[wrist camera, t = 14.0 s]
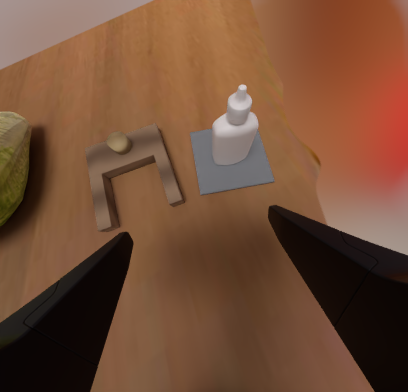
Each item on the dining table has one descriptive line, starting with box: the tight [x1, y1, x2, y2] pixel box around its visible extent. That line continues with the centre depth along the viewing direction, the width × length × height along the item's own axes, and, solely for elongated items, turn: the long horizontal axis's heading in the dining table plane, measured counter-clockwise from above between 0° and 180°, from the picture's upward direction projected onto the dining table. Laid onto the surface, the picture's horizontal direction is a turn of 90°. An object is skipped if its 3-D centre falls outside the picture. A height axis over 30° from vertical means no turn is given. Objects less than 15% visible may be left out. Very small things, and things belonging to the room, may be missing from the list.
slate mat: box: [190, 129, 274, 195], centre depth 25 cm, size 12×12×1 cm
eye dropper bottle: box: [212, 85, 258, 165], centre depth 19 cm, size 4×6×12 cm
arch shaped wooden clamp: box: [85, 123, 185, 232], centre depth 24 cm, size 15×13×4 cm
